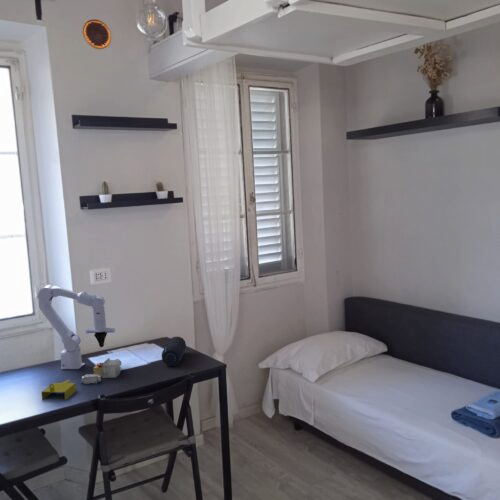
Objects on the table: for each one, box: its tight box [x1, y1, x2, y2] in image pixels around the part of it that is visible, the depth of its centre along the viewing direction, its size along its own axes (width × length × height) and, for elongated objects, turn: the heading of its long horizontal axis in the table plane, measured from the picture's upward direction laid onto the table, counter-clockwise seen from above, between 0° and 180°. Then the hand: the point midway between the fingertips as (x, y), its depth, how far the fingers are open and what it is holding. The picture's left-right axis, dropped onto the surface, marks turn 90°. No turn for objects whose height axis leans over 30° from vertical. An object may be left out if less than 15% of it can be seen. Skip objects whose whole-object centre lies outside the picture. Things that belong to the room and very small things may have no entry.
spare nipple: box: [80, 373, 102, 385], centre depth 244 cm, size 8×3×3 cm, turn 92°
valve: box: [92, 362, 103, 378], centre depth 253 cm, size 9×5×6 cm, turn 84°
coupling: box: [101, 358, 122, 379], centre depth 255 cm, size 6×14×7 cm, turn 175°
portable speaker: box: [161, 336, 187, 367], centre depth 271 cm, size 25×10×10 cm, turn 0°
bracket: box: [41, 379, 77, 401], centre depth 231 cm, size 16×8×15 cm
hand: (101, 346), depth 268 cm, fingers closed
